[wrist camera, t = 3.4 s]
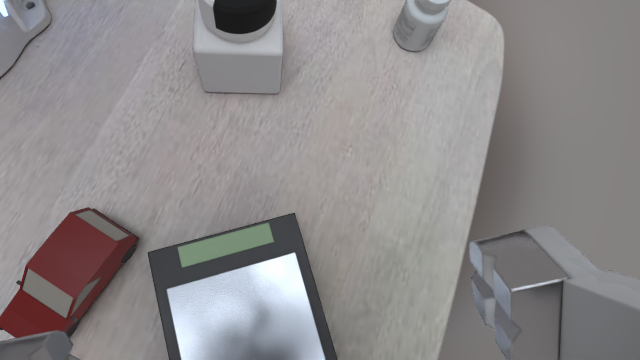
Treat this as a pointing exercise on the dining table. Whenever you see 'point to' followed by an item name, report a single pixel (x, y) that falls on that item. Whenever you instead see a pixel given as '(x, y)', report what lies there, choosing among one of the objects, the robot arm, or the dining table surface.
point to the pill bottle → (419, 23)
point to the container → (239, 45)
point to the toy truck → (67, 274)
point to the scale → (241, 296)
